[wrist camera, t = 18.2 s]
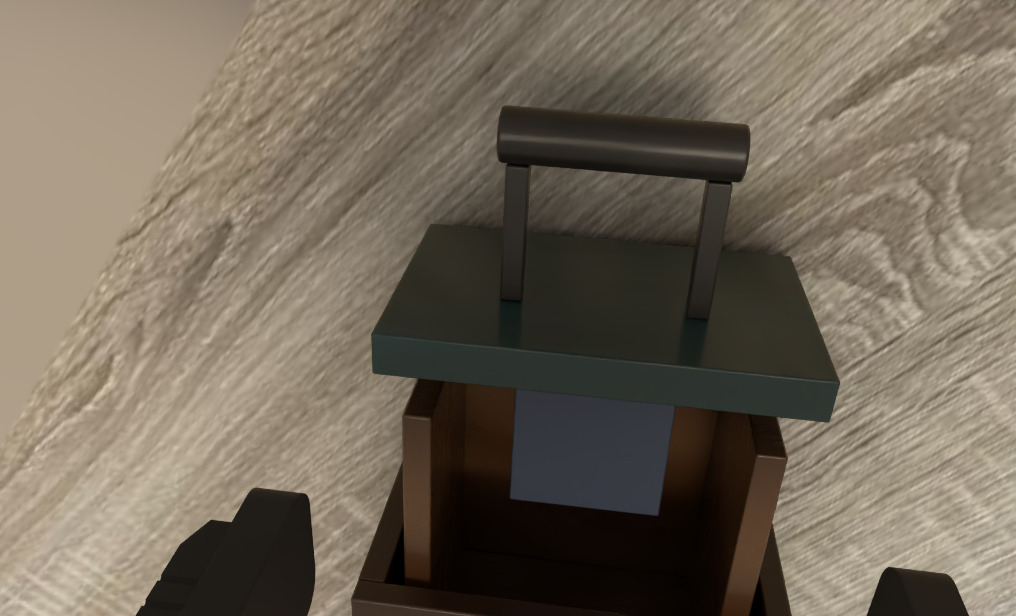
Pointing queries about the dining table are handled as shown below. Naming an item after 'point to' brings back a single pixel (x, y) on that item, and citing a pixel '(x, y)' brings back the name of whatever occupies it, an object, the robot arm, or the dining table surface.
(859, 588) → the dining table surface
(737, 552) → the drawer
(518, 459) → the block
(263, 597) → the robot arm
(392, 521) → the cabinet
